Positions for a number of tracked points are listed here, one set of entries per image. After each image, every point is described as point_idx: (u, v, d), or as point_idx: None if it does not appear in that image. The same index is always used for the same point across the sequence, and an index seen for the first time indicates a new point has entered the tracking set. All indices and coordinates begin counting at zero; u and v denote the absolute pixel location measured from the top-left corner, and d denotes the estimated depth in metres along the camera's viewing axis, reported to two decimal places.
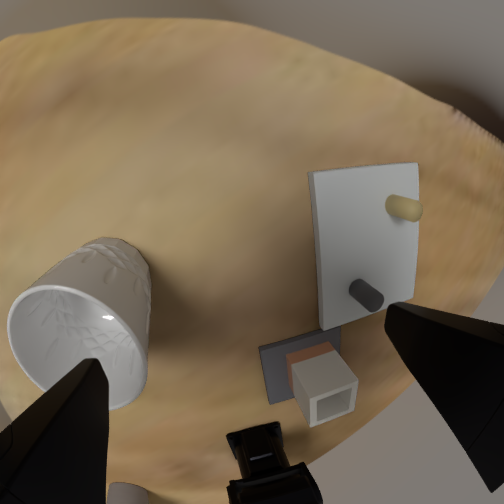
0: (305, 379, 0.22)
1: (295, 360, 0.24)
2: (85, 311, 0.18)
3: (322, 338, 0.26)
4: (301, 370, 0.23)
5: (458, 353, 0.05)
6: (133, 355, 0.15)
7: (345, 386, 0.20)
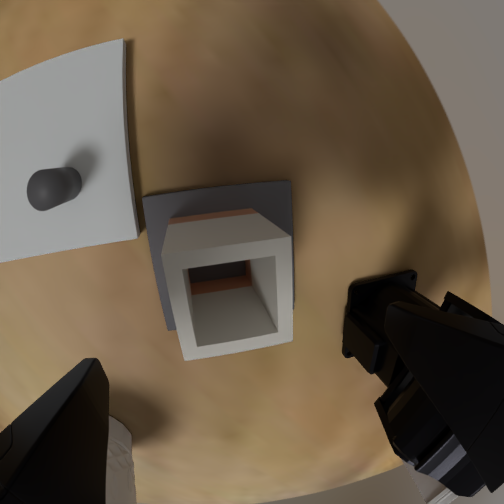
0: None
1: None
2: None
3: (160, 232, 0.15)
4: None
5: (458, 353, 0.05)
6: None
7: (172, 288, 0.09)
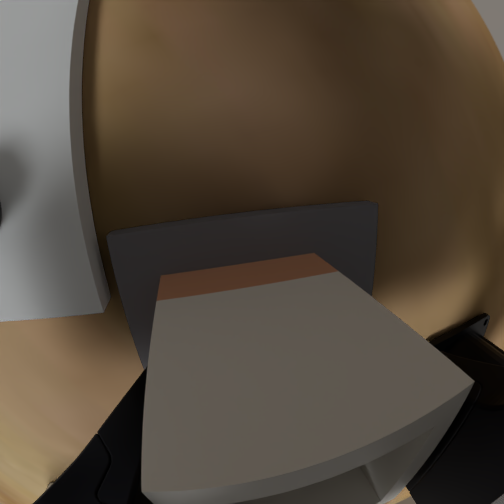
0: None
1: None
2: None
3: (145, 299, 0.08)
4: None
5: None
6: None
7: None
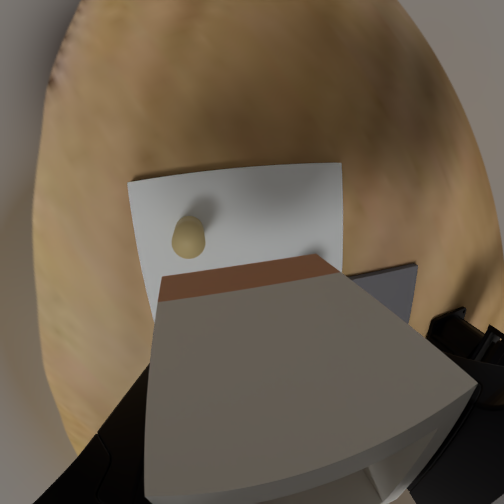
0: None
1: None
2: None
3: None
4: None
5: None
6: None
7: None
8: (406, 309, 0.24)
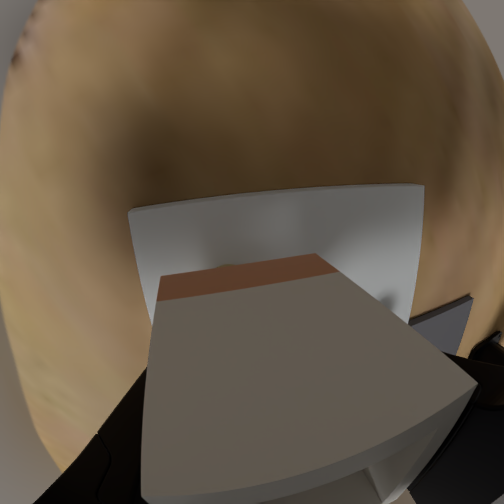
0: None
1: None
2: None
3: None
4: None
5: None
6: None
7: None
8: (455, 345, 0.19)
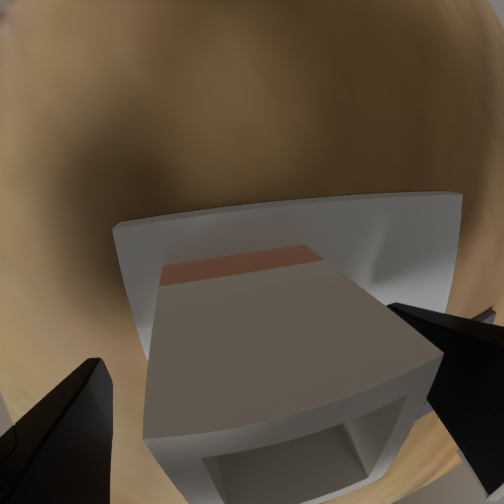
0: None
1: None
2: None
3: None
4: None
5: (455, 355, 0.05)
6: None
7: (180, 479, 0.03)
8: None
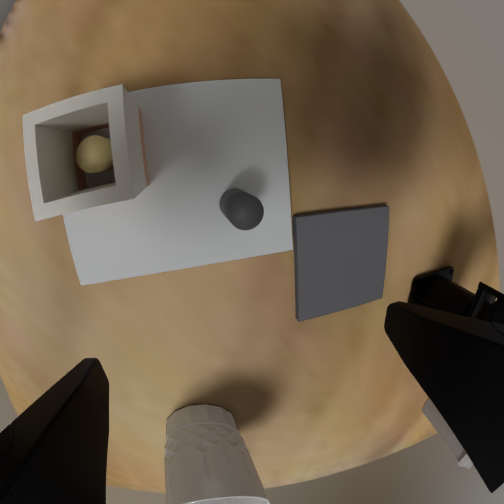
0: None
1: None
2: None
3: (306, 244, 0.19)
4: None
5: (458, 353, 0.05)
6: None
7: (26, 143, 0.08)
8: (380, 260, 0.22)
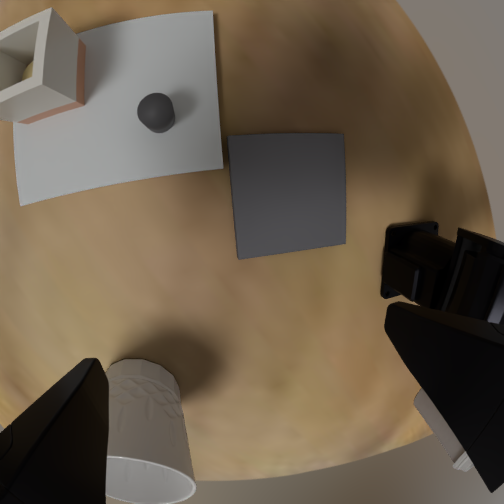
0: None
1: None
2: None
3: (242, 165, 0.17)
4: None
5: (458, 353, 0.05)
6: None
7: None
8: (338, 195, 0.19)
